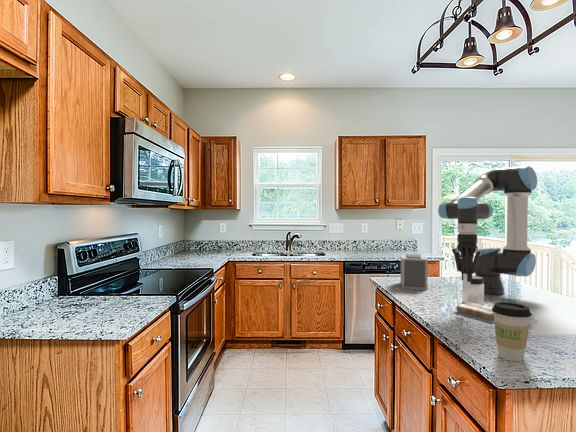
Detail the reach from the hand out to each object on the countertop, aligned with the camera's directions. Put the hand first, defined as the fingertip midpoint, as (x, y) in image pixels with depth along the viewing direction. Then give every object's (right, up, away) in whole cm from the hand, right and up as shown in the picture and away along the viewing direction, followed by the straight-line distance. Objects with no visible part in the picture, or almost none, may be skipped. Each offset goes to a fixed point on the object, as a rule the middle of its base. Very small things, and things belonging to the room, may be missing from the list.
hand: (466, 288), depth 151 cm
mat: (+4, -10, -6) cm, 12 cm away
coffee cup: (-11, -10, -48) cm, 50 cm away
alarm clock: (-5, -9, +50) cm, 51 cm away
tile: (-1, -8, +1) cm, 8 cm away
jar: (+10, -10, +13) cm, 19 cm away
